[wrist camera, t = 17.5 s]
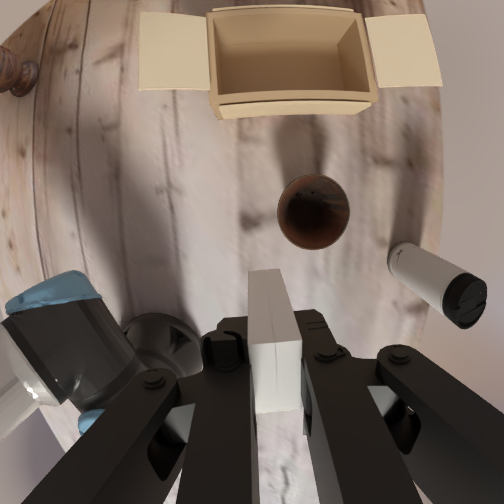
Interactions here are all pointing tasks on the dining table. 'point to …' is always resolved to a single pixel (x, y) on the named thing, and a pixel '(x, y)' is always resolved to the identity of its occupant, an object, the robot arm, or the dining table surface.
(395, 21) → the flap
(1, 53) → the mortar and pestle
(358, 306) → the dining table surface
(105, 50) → the dining table surface
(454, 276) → the travel mug
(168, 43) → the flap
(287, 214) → the cup
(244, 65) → the carton
